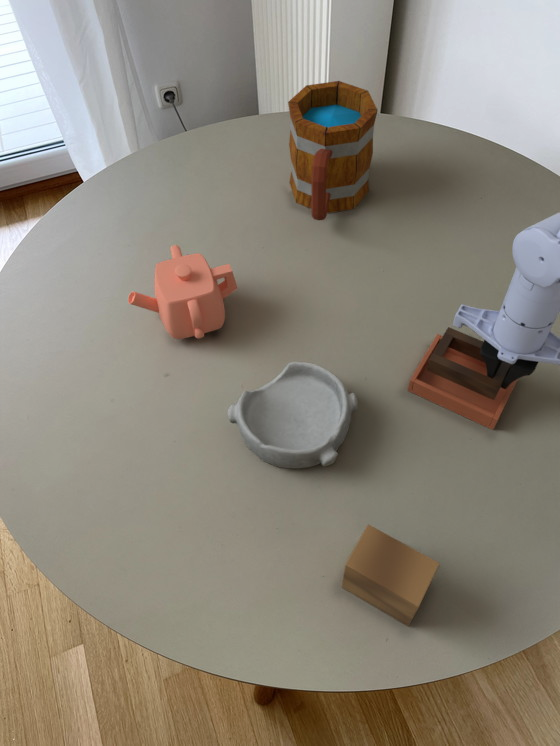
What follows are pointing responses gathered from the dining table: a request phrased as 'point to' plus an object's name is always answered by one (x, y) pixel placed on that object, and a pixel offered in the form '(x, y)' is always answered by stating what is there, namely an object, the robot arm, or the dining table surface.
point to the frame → (462, 373)
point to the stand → (388, 574)
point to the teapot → (188, 294)
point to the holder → (458, 389)
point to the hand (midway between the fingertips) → (498, 379)
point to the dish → (295, 417)
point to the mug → (331, 146)
